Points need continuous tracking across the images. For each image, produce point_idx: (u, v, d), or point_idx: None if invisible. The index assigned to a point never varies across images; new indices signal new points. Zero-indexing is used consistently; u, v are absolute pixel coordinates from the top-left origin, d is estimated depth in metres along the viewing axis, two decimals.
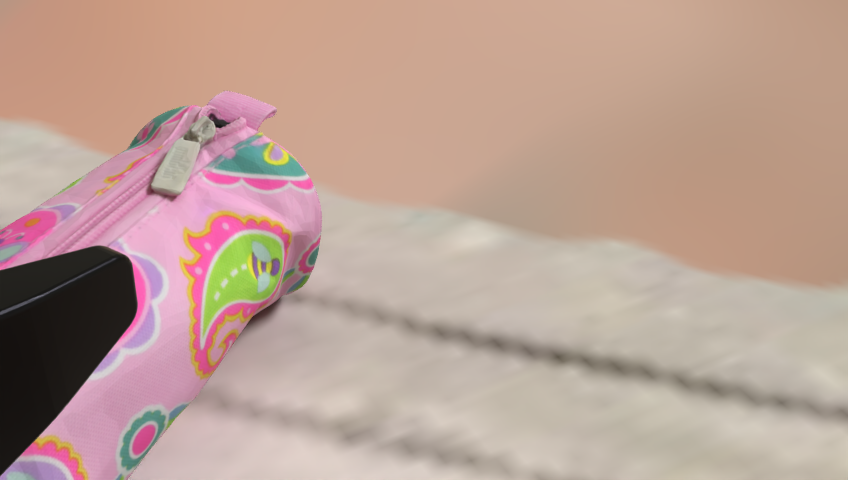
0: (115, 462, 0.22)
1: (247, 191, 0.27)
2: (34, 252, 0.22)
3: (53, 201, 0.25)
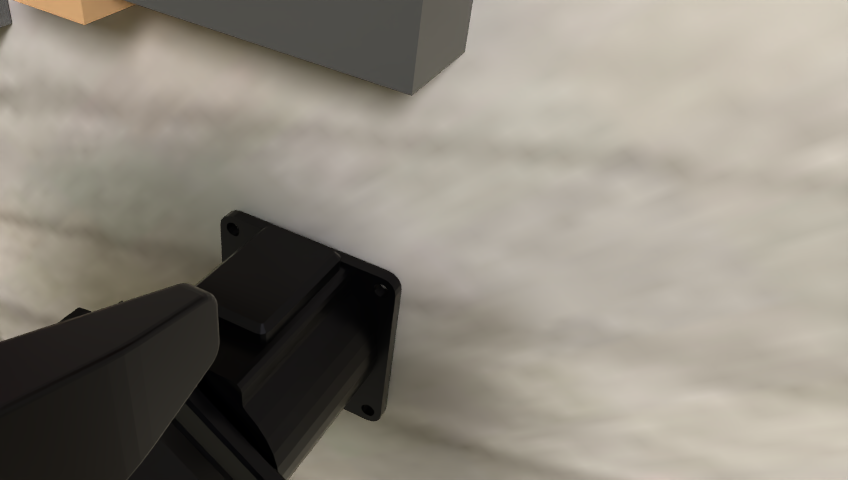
0: None
1: None
2: None
3: None
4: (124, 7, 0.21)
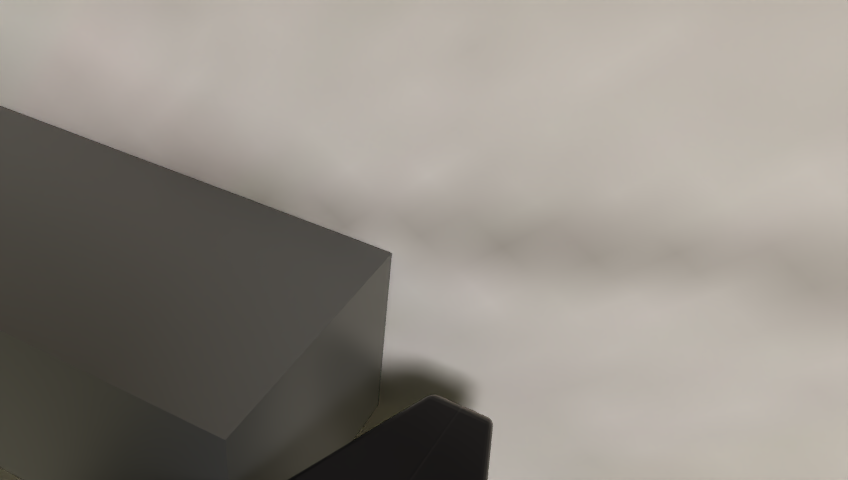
0: None
1: None
2: None
3: None
4: None
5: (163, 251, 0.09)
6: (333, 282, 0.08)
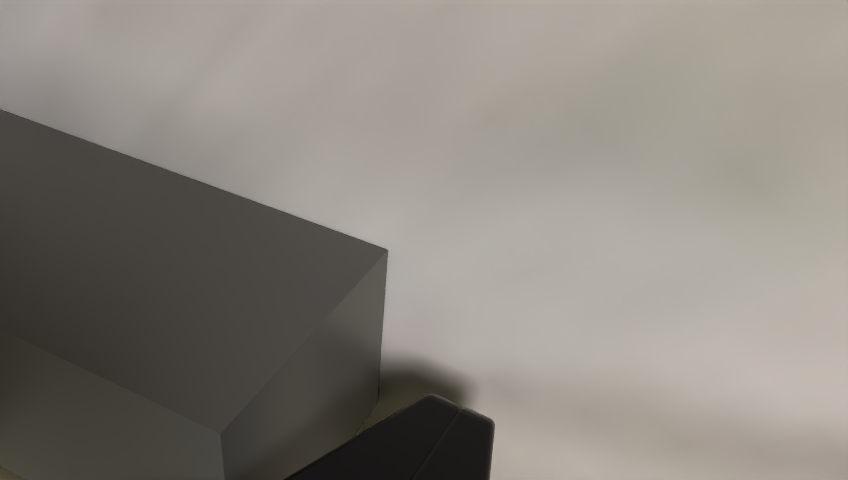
0: None
1: None
2: None
3: None
4: None
5: (161, 250, 0.09)
6: (329, 279, 0.08)
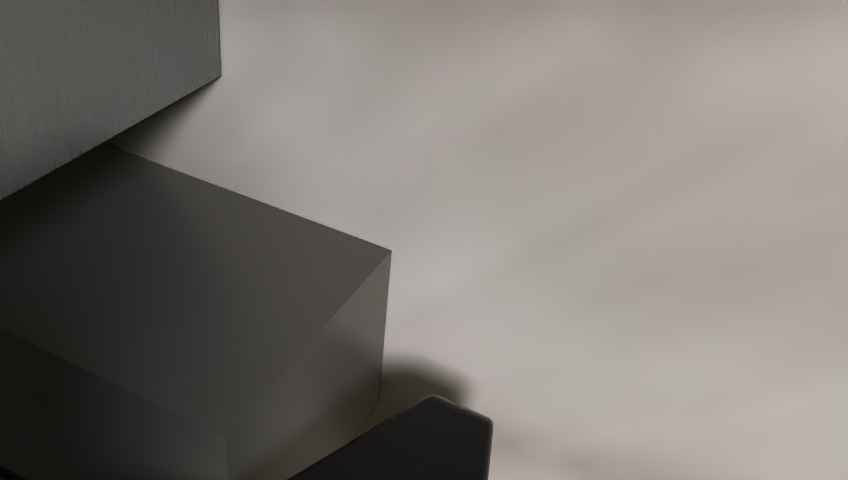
0: None
1: None
2: None
3: None
4: None
5: (163, 249, 0.09)
6: (333, 279, 0.08)
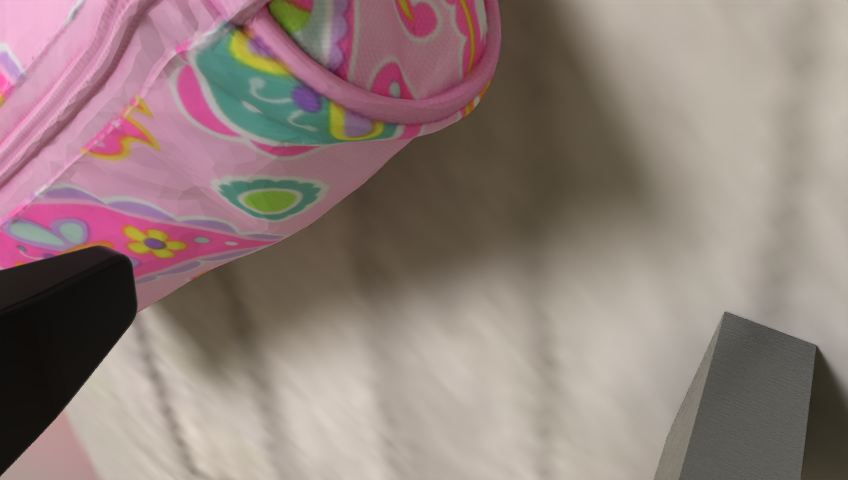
0: None
1: None
2: None
3: None
4: None
5: None
6: None
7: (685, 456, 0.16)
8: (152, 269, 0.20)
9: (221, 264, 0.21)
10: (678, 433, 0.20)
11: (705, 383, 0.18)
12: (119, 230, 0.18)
